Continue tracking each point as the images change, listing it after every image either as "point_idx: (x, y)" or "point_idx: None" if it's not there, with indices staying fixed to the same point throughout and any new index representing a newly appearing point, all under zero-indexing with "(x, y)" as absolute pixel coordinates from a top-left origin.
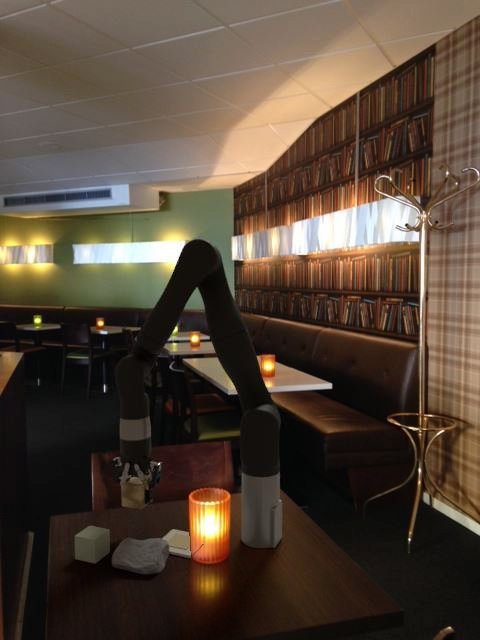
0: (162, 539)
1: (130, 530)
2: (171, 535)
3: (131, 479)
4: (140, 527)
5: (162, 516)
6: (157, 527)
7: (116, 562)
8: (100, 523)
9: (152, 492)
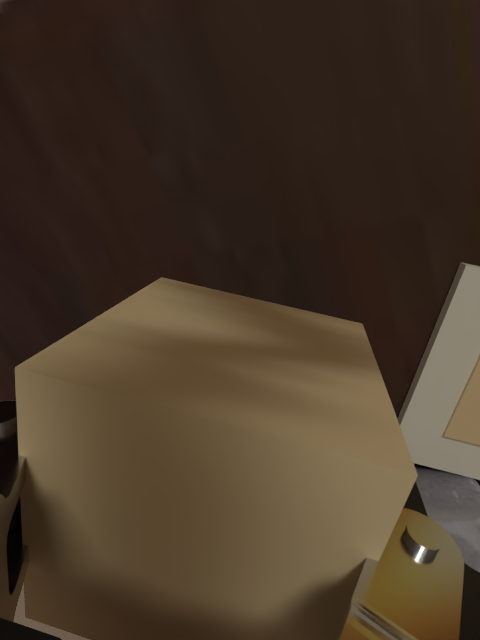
0: (475, 552)
1: (216, 284)
2: (469, 340)
3: (50, 476)
4: (255, 242)
5: (348, 53)
6: (354, 225)
7: None
8: (35, 233)
9: (415, 498)
